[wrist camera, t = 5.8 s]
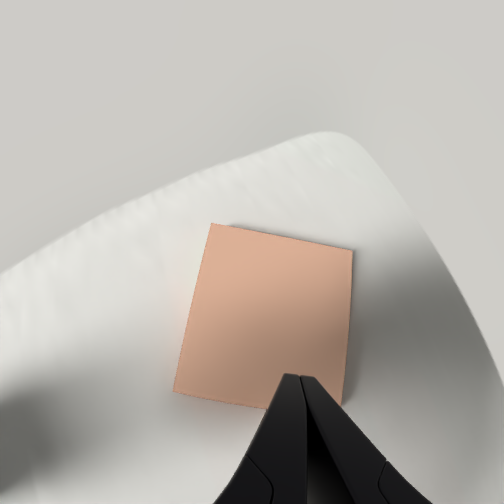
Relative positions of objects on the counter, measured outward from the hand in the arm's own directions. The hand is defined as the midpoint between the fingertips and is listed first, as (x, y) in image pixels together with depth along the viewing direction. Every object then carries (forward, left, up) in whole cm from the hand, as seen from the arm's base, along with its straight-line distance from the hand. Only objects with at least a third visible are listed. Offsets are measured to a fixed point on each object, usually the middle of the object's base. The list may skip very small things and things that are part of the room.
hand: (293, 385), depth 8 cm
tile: (-1, 0, -8) cm, 8 cm away
